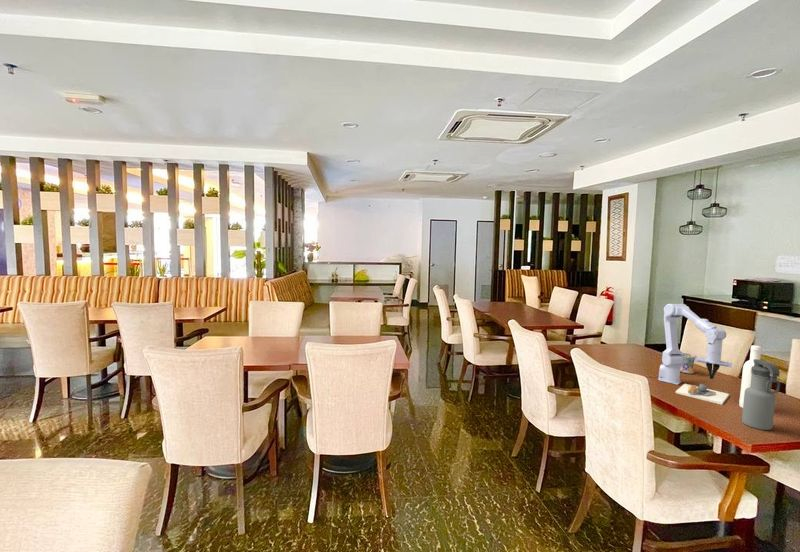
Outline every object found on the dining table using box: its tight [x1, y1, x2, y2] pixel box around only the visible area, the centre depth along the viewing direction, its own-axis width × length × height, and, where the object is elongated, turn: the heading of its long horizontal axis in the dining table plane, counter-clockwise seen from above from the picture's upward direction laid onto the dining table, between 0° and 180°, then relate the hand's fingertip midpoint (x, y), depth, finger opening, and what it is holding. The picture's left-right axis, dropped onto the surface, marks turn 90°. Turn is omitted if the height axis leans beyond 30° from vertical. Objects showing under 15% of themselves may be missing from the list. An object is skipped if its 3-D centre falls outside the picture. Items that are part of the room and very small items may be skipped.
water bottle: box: [741, 359, 781, 431], centre depth 168 cm, size 10×10×28 cm
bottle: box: [738, 344, 765, 409], centre depth 187 cm, size 8×8×30 cm
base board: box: [675, 383, 730, 406], centre depth 204 cm, size 19×18×5 cm
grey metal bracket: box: [688, 384, 716, 396], centre depth 203 cm, size 13×8×4 cm, turn 111°
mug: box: [680, 352, 698, 375], centre depth 242 cm, size 12×9×11 cm
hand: (711, 378), depth 200 cm, fingers closed
